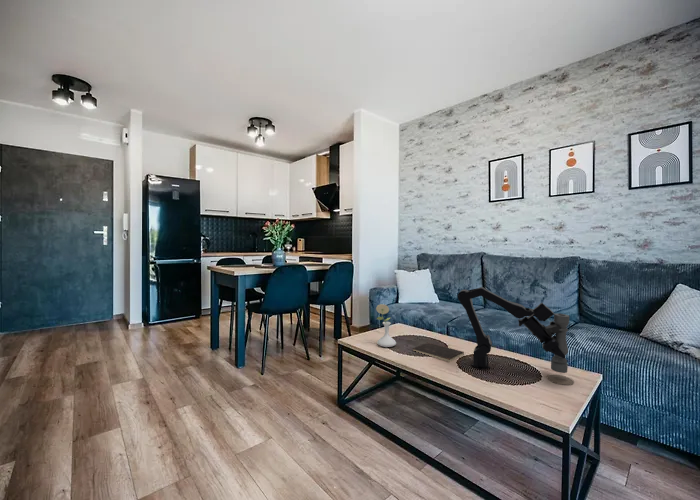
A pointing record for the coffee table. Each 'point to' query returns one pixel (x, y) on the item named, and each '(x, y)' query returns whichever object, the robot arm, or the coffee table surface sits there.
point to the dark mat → (560, 379)
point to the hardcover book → (438, 351)
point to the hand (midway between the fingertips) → (563, 355)
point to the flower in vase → (386, 339)
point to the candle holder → (561, 344)
